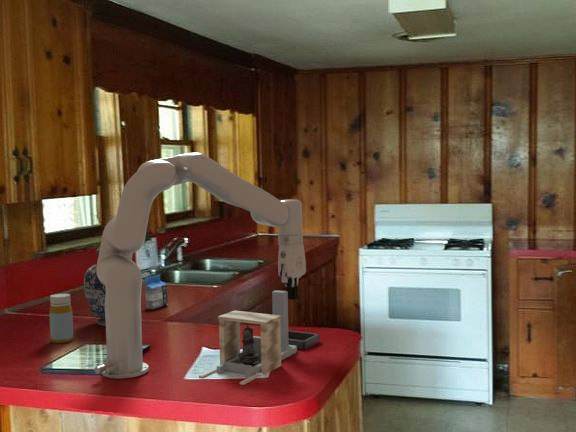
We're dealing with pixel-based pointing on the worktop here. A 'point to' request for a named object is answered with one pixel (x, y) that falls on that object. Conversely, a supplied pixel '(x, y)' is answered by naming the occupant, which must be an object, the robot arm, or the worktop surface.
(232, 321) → the tunnel
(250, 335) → the dark grey upright piece
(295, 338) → the dark grey flat tray
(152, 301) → the label tape box
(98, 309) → the decorative vase
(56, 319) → the bottle
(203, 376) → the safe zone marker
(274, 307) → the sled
